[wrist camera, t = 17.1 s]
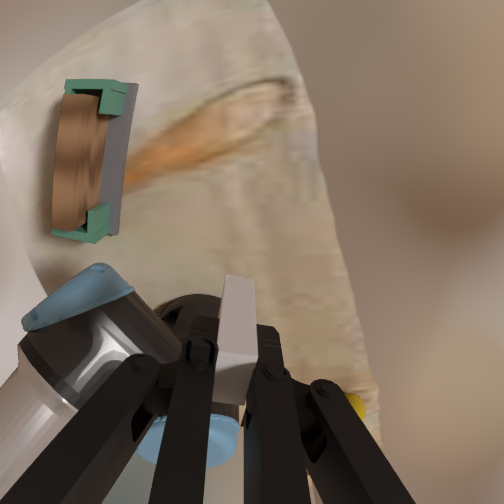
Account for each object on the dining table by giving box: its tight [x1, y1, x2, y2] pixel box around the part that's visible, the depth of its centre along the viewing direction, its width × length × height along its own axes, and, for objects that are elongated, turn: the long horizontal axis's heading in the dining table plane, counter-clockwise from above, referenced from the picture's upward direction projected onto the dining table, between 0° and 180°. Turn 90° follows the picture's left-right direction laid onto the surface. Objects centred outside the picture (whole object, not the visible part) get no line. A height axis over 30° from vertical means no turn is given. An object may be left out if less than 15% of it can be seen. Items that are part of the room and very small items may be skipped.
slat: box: [52, 94, 110, 232], centre depth 34 cm, size 16×3×8 cm, turn 169°
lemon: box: [345, 393, 365, 421], centre depth 52 cm, size 6×6×8 cm
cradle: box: [52, 79, 139, 244], centre depth 36 cm, size 21×9×6 cm, turn 169°
